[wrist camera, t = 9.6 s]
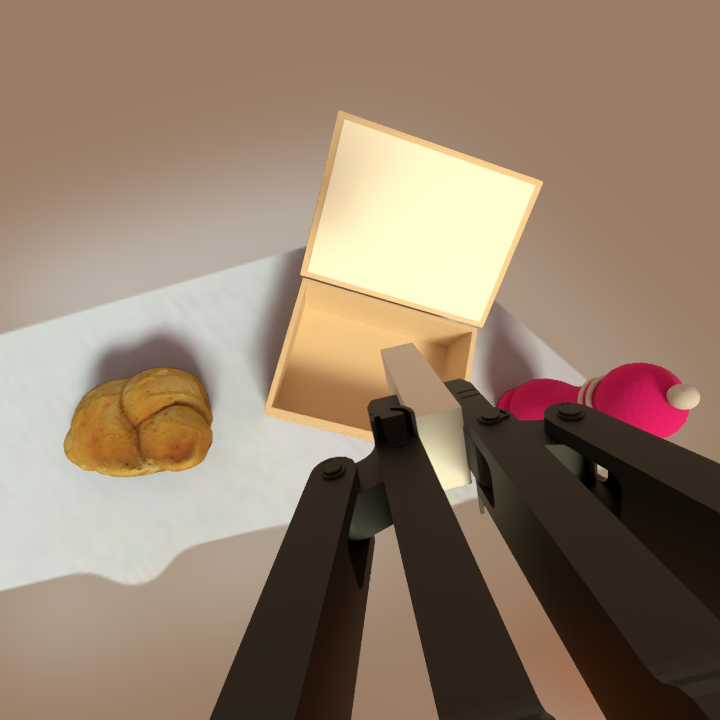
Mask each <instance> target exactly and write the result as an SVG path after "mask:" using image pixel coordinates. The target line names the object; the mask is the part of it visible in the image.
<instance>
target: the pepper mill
mask: <svg viewBox="0 0 720 720" xmlns="http://www.w3.org/2000/svg"><path fill="white" fill-rule="evenodd" d="M699 400H700V395H699V392H698V391H697V390H696V389H695V388H694V387H692V386H690V385H688V384H682V383H681V381H680V380H679V379H678V378H677V377H676V376H675V375H674V374H672V373H671V372H670V371H668V370H666V369H664V368H662V367H659V366H656V365H653V364H648V363H632V364H626V365H622V366H620V367H618V368H615V369H613V370H612V371H610V372H609V373H608V374H607V375H604V376H601V377H595V378H592V379H590V380H588V381H586V382H585V383H584V384H583V386H581V387H577V386H573V385H570V384H567V383H565V382H562V381H558V380H553V379H535V380H531V381H528V382H526V383H524V384H523V385H521V386H520V387H519V388H517V389H513V390H510V391H508V392H506V393H505V394H504V395H503V396H502V397H501V398H500V400H499V403H498V405H497V408H502V409H506V410H508V411H509V412H511V413H512V414H513V415H514V416H515V417H516V418H517V419H518V420H544V414H543V413H544V411H545V409H546V408H547V407H549V406H551V405H553V404H557V403H562V402H564V403H565V402H572V403H580V404H583V405H586V406H589V407H591V408H594V409H596V410H598V411H600V412H603V413H605V414H607V415H610V416H612V417H614V418H616V419H619V420H621V421H623V422H626V423H628V424H630V425H632V426H635V427H637V428H639V429H642V430H644V431H646V432H648V433H651V434H653V435H655V436H658V437H660V438H662V439H663V438H666V437H668V436H670V435H672V434H674V433H675V432H677V431H678V430H679V429H680V428H681V427H682V426H683V424H684V423H685V422H686V419H687V417H688V414H689V409H690V408H693V407H695V406H696V405H697V404H698V403H699Z"/></svg>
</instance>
